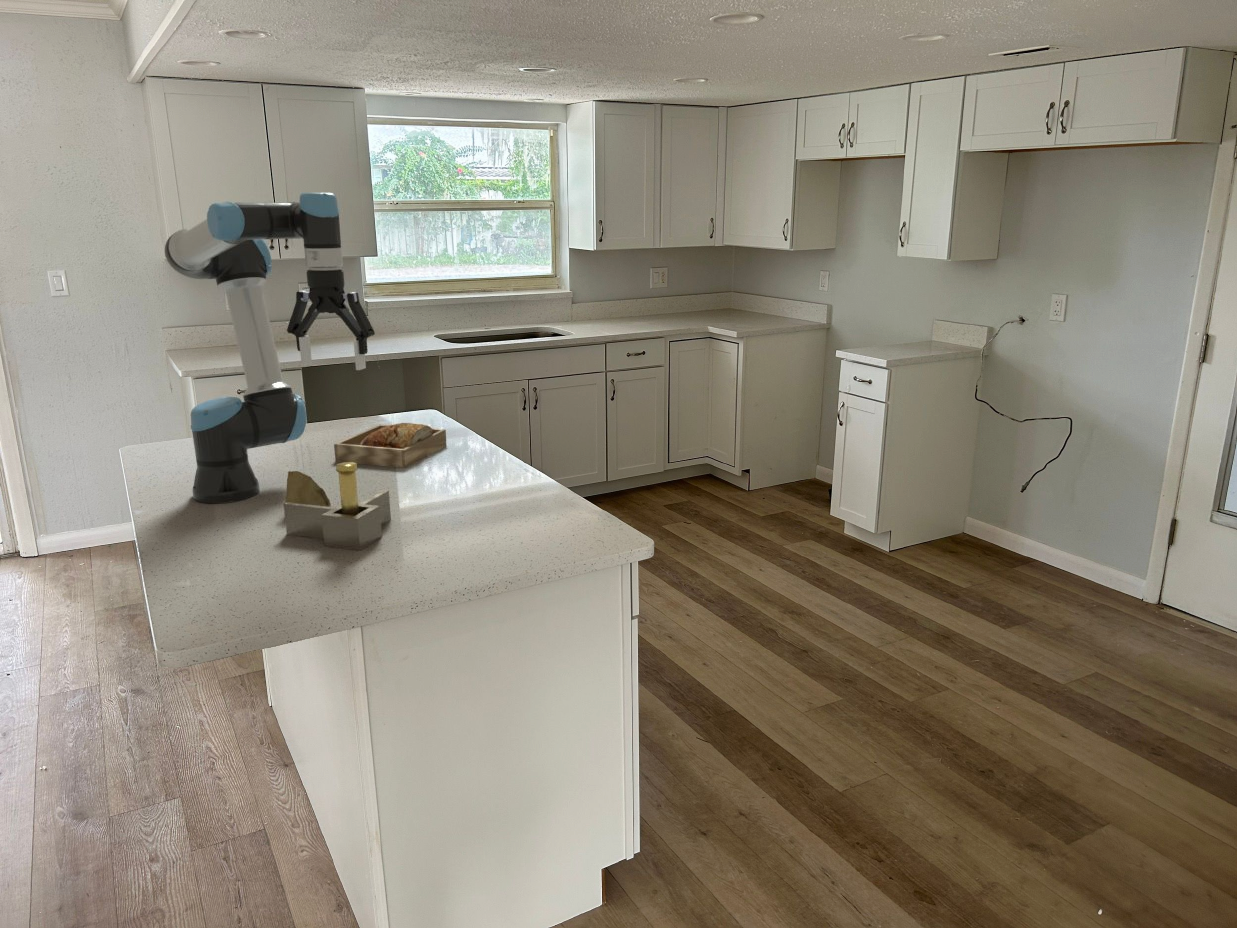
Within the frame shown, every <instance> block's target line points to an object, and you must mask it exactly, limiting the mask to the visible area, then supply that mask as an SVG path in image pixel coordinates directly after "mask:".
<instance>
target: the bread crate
mask: <svg viewBox="0 0 1237 928" xmlns="http://www.w3.org/2000/svg"><path fill="white" fill-rule="evenodd" d="M389 425H390V424H377V425H375V426H373V427H371V428H368V429H366V430H363V431H361V432H359V433H357V434H354V435H352V436H349V437H348V438H347V437H346V438H345V439H343V440H340V441H337V442H336V443H334V444H333V448H334V458H335V459H334V461H335V462H338V463H345V462H353V463H356V464H357V465H358V464H359V465H372V466H378V467H379V466H381V467H393V468H401V469H407V468H409V467H411V466H412V465H414V464H416V463H418V462H419V461H421V460H423V459H425V458H427V457H429V456H431V455H433V454H434V453H436V452H438V451H440V450H442V449H443V448H445V447H447V445H448V444H447V432H446V431H447V430H446V429H442V428H434V427H433V428H432V427H431V428H432V430H433V434H432V435H430V436H428V437H426V438H424V439H422V440H420V441H418V442H416V443H414V444H412V445H410V446H408V447H406V448H404V449H397V448H385V447H373V446H362V445H360V444H361V442H362V440H364V439H365V438H366V437H367V436H368V435H369V434H371V433H373V432H375V431H377V430H379V429H381V428H383V427H386V426H389Z"/></svg>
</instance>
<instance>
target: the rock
mask: <svg viewBox="0 0 1237 928" xmlns="http://www.w3.org/2000/svg"><path fill="white" fill-rule="evenodd" d="M287 502H289V503H298V504H307V505H316V506H326V507H332V505H331V501H330V499H329V497H328V495H327V493H326V491H325V490H324V489H323V487H320V486H319V484H318V483H317V482H316V481H315V480H314V479H313V478H312V476H309V475H308V474H305V473H302V472H301V471H298V470H292V471H291V470H289V471H287V480H286V495H285V503H287Z"/></svg>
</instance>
